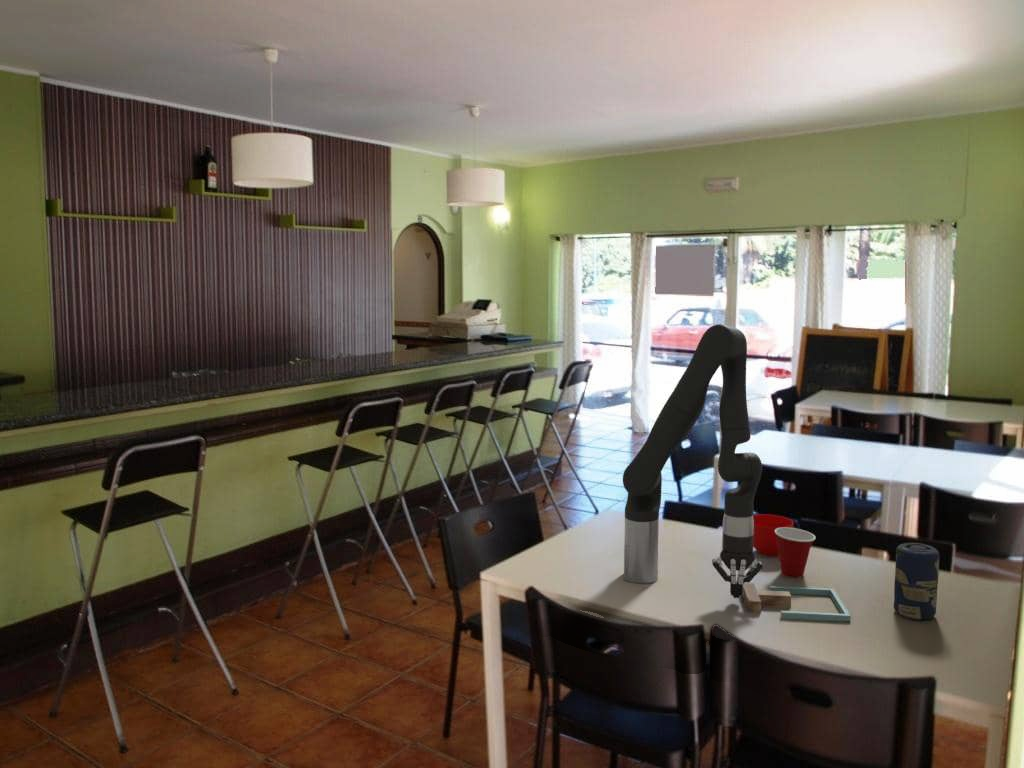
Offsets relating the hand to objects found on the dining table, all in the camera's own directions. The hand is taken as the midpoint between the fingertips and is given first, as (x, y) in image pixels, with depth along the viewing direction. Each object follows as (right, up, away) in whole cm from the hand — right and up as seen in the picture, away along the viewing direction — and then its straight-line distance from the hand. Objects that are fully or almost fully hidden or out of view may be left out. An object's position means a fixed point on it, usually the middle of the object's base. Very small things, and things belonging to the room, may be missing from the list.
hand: (736, 596), depth 209 cm
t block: (+8, -2, -1) cm, 8 cm away
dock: (+17, -2, -2) cm, 17 cm away
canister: (+42, -3, -7) cm, 42 cm away
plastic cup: (+21, +1, +19) cm, 29 cm away
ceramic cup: (+18, +4, +38) cm, 42 cm away
